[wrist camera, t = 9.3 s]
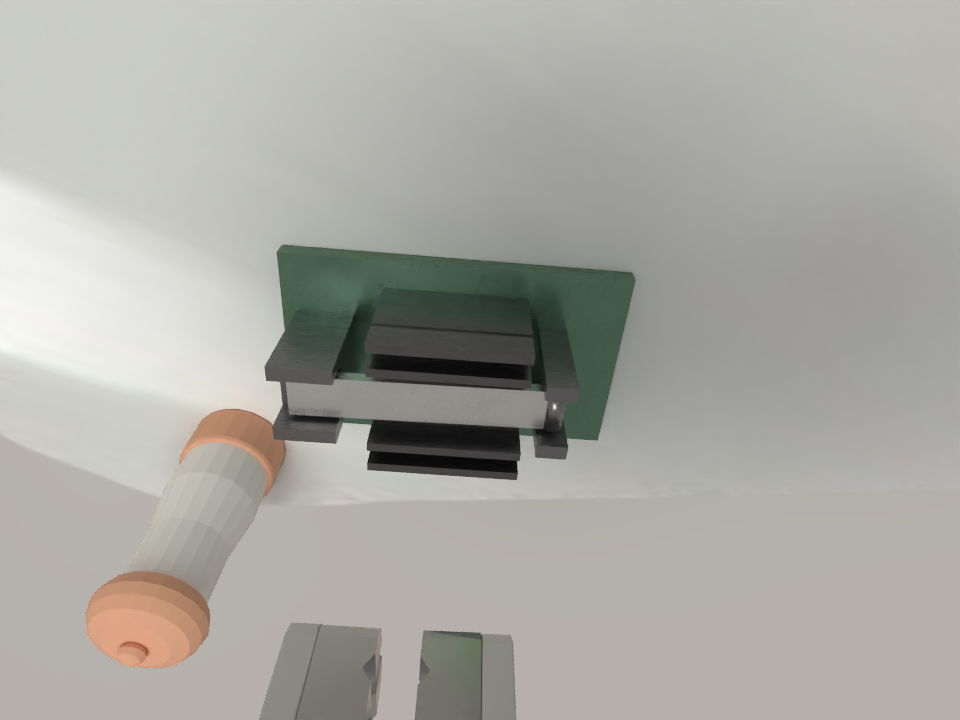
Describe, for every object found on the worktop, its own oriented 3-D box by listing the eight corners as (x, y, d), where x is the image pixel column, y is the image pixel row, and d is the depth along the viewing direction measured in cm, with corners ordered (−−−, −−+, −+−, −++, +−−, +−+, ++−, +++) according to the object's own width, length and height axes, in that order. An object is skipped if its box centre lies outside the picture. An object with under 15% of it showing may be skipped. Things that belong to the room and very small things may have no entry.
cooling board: (631, 272, 43) (661, 335, 35) (595, 430, 50) (613, 509, 43) (282, 245, 42) (238, 302, 35) (297, 409, 49) (265, 486, 42)
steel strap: (566, 383, 40) (569, 396, 39) (560, 419, 42) (562, 433, 41) (289, 366, 39) (283, 378, 38) (293, 404, 41) (287, 417, 40)
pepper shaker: (187, 458, 52) (52, 678, 36) (207, 396, 49) (67, 608, 32) (271, 487, 54) (178, 709, 38) (296, 428, 50) (205, 646, 34)
